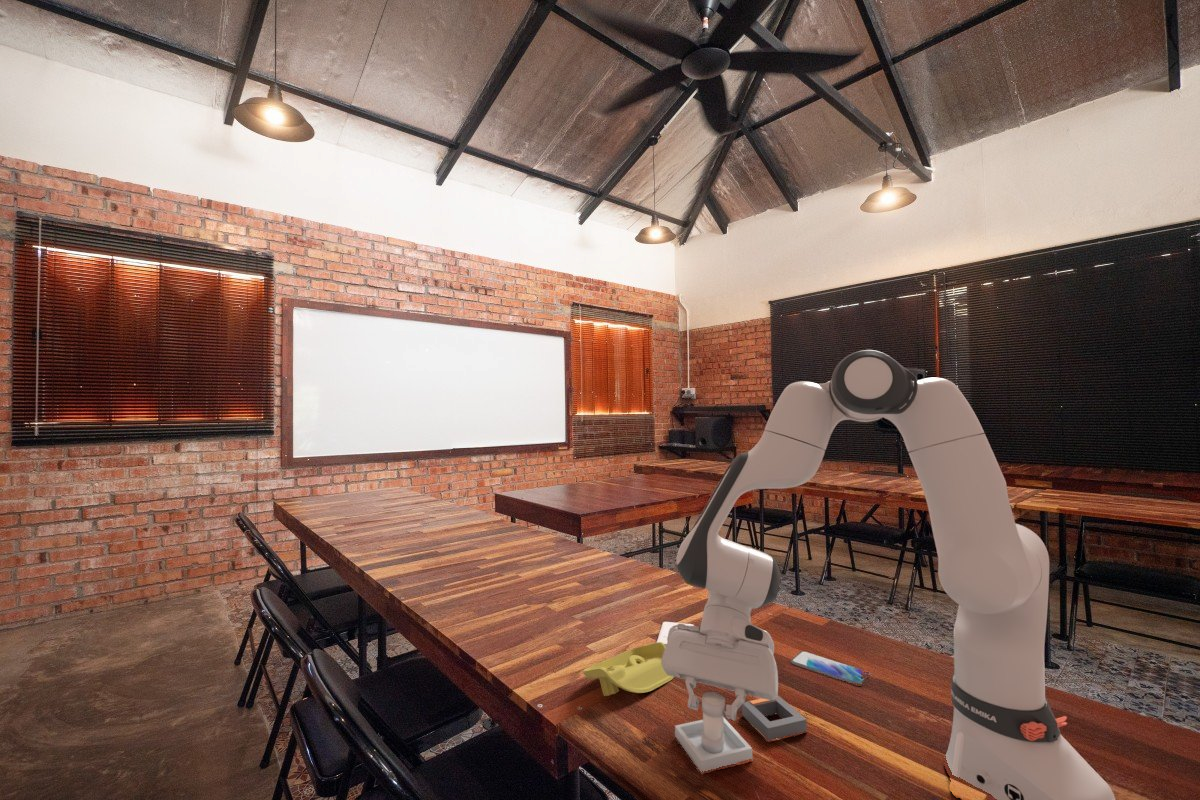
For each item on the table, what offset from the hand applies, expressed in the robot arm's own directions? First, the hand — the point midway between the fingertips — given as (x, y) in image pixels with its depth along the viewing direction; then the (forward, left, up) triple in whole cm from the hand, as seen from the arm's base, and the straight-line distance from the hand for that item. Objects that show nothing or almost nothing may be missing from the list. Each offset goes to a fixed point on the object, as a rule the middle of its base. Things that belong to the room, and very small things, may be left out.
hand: (710, 713), depth 86 cm
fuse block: (+3, -14, -6) cm, 16 cm away
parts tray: (0, 0, -6) cm, 6 cm away
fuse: (0, 0, -6) cm, 6 cm away
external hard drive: (+41, -13, -7) cm, 43 cm away
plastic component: (+25, +6, -7) cm, 27 cm away
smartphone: (+16, -38, -7) cm, 42 cm away
